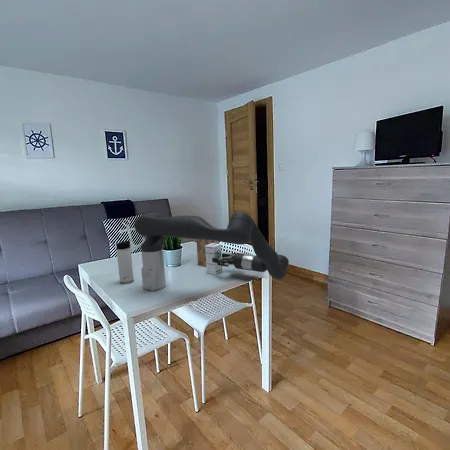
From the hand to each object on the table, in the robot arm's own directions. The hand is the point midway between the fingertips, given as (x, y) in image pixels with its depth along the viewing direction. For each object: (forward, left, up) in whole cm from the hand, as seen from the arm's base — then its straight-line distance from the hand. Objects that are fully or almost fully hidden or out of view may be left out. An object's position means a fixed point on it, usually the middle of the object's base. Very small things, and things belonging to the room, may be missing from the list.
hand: (217, 257), depth 140 cm
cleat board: (+12, +11, -8) cm, 18 cm away
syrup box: (0, +2, -8) cm, 9 cm away
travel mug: (-30, +32, -8) cm, 45 cm away
